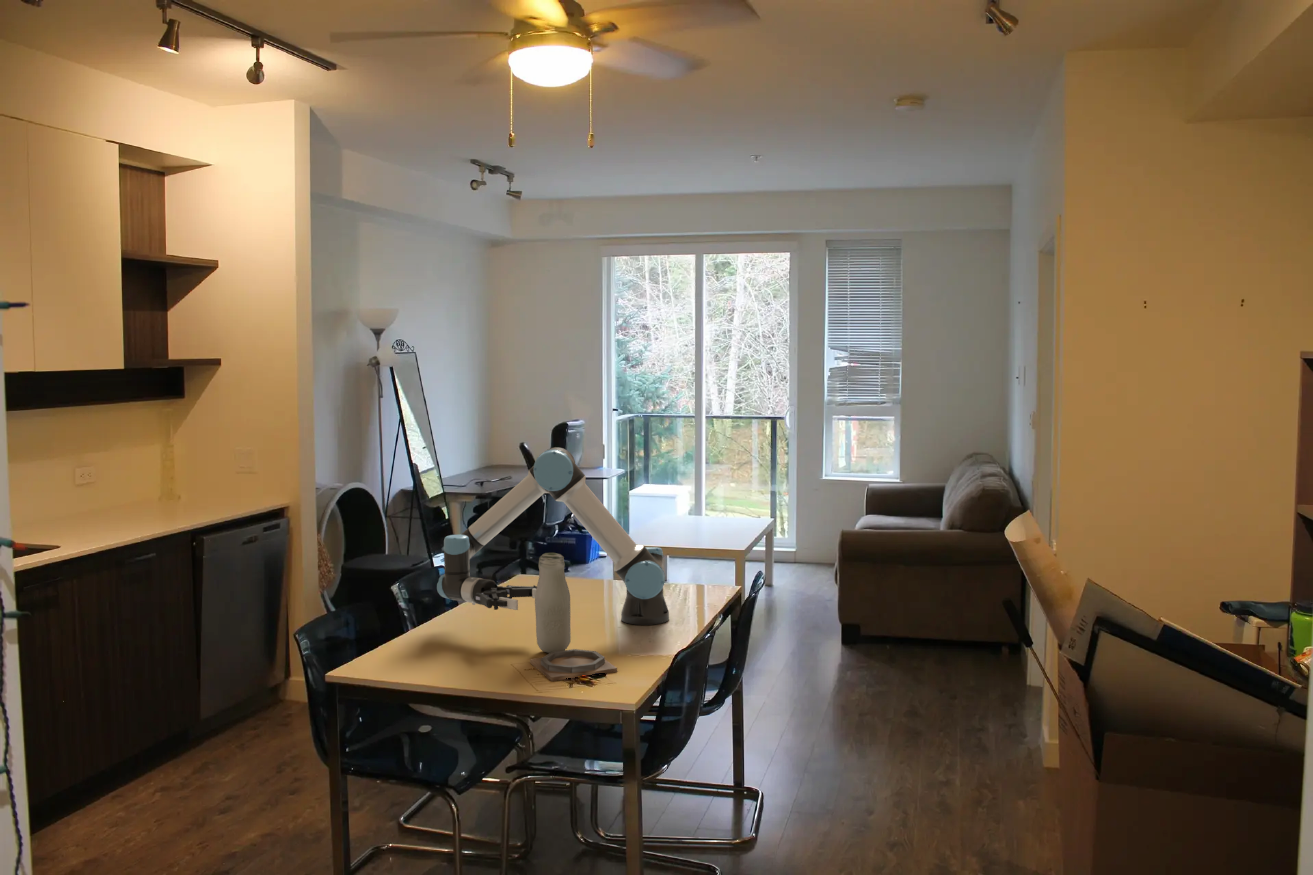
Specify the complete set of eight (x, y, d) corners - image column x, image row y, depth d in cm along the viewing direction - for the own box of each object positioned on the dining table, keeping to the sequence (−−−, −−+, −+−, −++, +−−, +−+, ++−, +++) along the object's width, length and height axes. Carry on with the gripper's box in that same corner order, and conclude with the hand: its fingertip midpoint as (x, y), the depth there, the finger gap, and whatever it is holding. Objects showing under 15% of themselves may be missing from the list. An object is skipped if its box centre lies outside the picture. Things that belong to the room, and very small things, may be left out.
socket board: (592, 654, 272) (592, 645, 272) (617, 671, 256) (617, 662, 255) (530, 662, 264) (529, 653, 264) (551, 681, 248) (551, 671, 248)
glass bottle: (568, 646, 281) (567, 549, 279) (573, 655, 271) (571, 555, 269) (534, 648, 278) (532, 550, 277) (537, 658, 268) (535, 557, 267)
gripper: (510, 595, 300) (562, 604, 288) (448, 612, 280) (502, 622, 267) (509, 571, 299) (562, 579, 287) (448, 586, 279) (502, 595, 267)
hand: (533, 600), depth 277 cm, fingers open, 13 cm apart
